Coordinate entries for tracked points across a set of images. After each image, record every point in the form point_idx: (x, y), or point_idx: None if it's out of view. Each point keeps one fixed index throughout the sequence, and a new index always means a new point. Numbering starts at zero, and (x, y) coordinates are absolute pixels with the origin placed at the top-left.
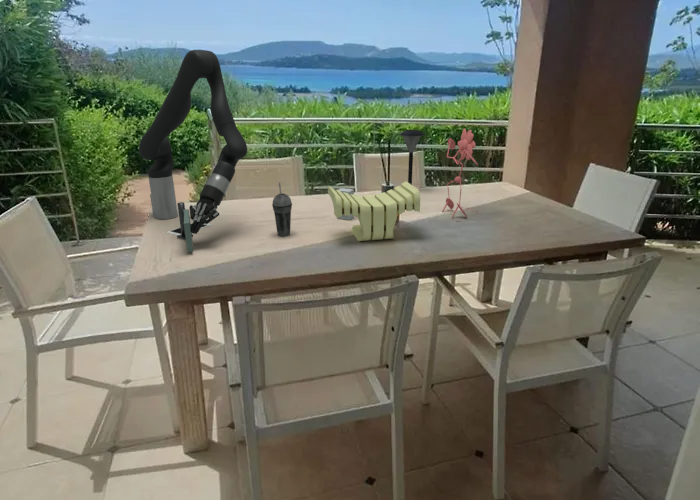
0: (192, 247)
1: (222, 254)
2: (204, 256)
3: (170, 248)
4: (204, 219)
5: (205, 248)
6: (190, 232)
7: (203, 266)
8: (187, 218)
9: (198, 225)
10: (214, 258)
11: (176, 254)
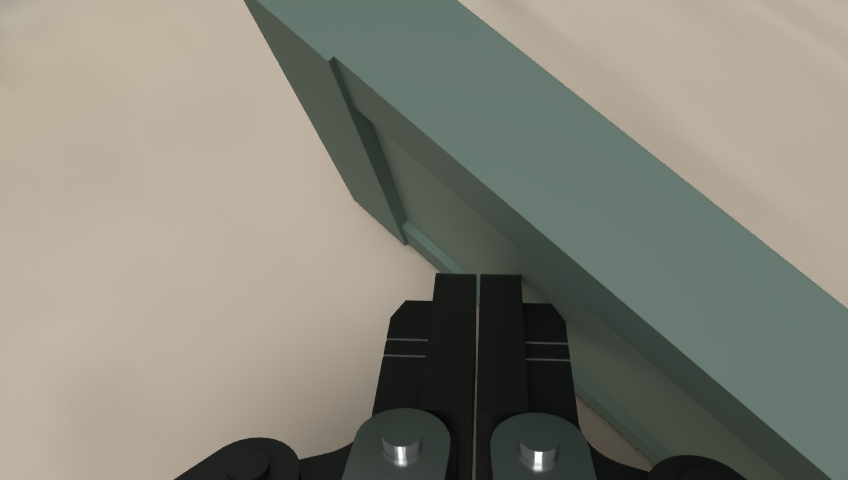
0: (344, 180)
1: (26, 386)
2: (188, 227)
3: (798, 213)
4: (181, 476)
5: None
6: (292, 82)
7: (7, 19)
8: (581, 218)
9: (380, 398)
10: (37, 238)
11: None
